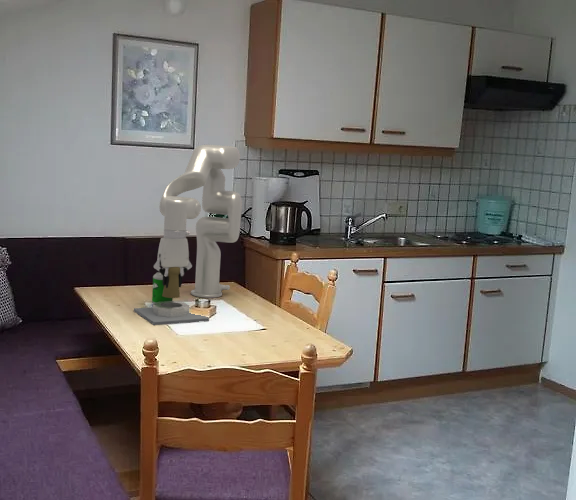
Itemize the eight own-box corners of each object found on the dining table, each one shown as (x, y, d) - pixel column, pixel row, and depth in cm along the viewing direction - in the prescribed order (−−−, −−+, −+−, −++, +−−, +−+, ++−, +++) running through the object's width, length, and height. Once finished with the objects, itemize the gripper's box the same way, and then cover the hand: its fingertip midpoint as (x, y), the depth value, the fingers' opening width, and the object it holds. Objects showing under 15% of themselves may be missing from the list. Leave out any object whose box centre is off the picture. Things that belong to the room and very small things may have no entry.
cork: (176, 298, 244) (178, 267, 242) (159, 296, 245) (161, 265, 243) (182, 295, 249) (184, 265, 248) (166, 293, 251) (168, 262, 249)
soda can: (174, 304, 267) (176, 272, 265) (169, 308, 259) (170, 276, 258) (155, 302, 267) (156, 271, 266) (149, 306, 260) (150, 274, 258)
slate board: (186, 307, 262) (186, 305, 262) (208, 321, 245) (209, 318, 245) (133, 311, 252) (133, 308, 251) (153, 325, 235) (153, 322, 235)
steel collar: (179, 308, 256) (180, 300, 256) (192, 316, 246) (193, 307, 246) (149, 310, 250) (149, 302, 250) (161, 318, 240) (161, 309, 240)
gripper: (192, 233, 252) (189, 284, 254) (147, 233, 243) (145, 285, 246) (201, 236, 245) (198, 288, 248) (155, 236, 237) (153, 290, 239)
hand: (172, 286), depth 247 cm, fingers closed on cork, 3 cm apart
